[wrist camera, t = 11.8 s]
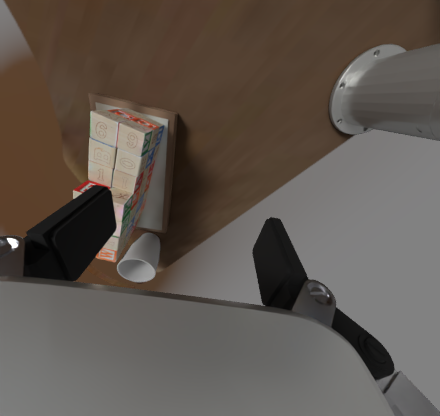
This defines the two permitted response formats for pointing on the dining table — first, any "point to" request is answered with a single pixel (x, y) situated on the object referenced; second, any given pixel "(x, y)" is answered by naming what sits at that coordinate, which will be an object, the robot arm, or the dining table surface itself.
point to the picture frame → (164, 163)
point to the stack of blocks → (122, 167)
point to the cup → (141, 259)
